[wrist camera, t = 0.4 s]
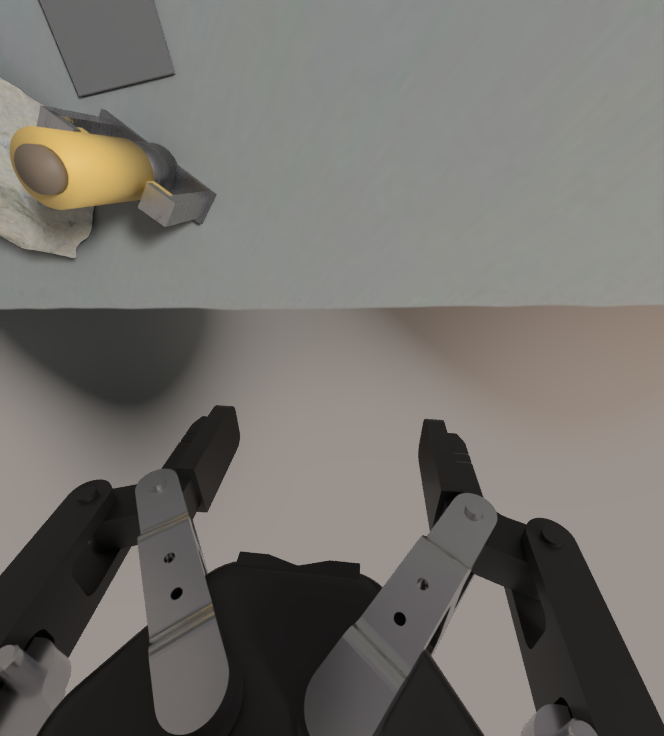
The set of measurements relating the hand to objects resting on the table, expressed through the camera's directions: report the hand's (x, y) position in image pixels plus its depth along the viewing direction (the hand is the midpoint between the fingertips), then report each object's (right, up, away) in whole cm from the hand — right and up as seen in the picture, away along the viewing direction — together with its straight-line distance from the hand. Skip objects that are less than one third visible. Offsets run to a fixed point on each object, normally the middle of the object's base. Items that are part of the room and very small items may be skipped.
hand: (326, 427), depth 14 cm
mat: (-20, +33, +16) cm, 41 cm away
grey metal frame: (-18, +23, +21) cm, 36 cm away
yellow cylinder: (-19, +21, +17) cm, 33 cm away
